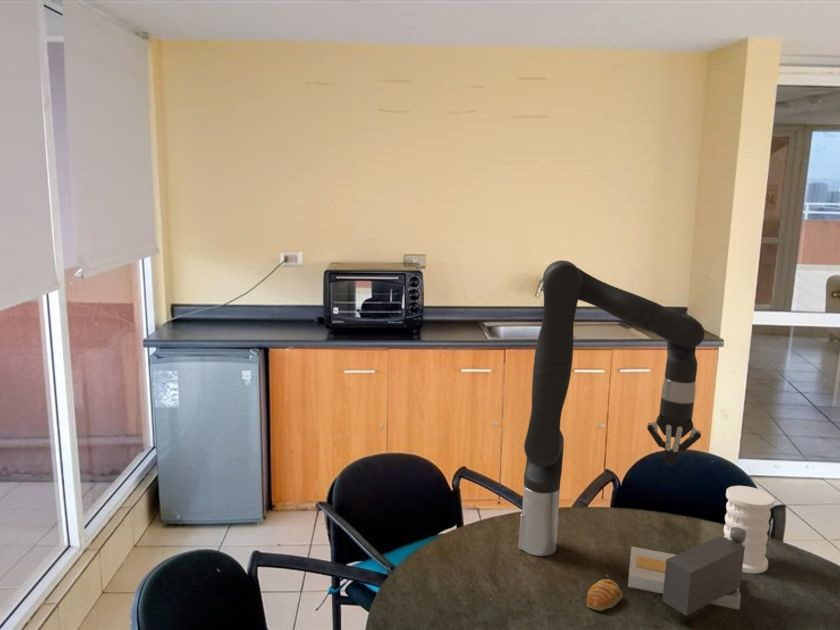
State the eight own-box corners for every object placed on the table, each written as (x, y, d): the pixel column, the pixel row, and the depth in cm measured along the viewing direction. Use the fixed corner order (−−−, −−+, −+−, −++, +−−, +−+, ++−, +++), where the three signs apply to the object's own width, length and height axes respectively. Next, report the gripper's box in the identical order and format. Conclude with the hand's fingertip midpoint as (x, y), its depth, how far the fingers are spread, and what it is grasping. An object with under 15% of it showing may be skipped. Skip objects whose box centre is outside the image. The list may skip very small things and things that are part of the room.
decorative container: (756, 579, 161) (765, 510, 158) (709, 559, 170) (716, 493, 166) (774, 562, 169) (783, 496, 166) (729, 544, 177) (736, 481, 174)
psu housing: (627, 586, 157) (632, 536, 154) (630, 557, 170) (634, 510, 167) (740, 609, 149) (746, 556, 146) (733, 577, 162) (739, 527, 159)
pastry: (606, 618, 145) (607, 602, 145) (578, 605, 149) (579, 590, 149) (624, 599, 152) (625, 583, 152) (596, 587, 157) (597, 573, 156)
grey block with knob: (686, 615, 141) (691, 563, 138) (662, 601, 146) (667, 550, 143) (749, 582, 153) (754, 534, 151) (725, 570, 158) (730, 523, 156)
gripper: (648, 397, 159) (640, 464, 163) (708, 405, 155) (699, 475, 158) (649, 389, 166) (642, 454, 169) (706, 396, 162) (697, 463, 165)
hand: (669, 464), depth 164 cm, fingers closed
